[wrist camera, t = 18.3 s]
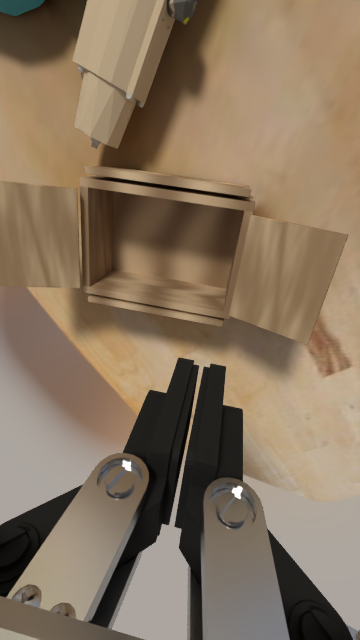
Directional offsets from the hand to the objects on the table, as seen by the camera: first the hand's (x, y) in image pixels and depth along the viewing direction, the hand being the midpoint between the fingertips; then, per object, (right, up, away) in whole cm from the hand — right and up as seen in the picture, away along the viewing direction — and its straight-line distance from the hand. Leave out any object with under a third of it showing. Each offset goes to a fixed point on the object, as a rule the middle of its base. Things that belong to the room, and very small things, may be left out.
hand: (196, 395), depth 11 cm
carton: (-1, +13, +27) cm, 30 cm away
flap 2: (+5, +8, +19) cm, 21 cm away
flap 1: (-11, +11, +20) cm, 25 cm away
